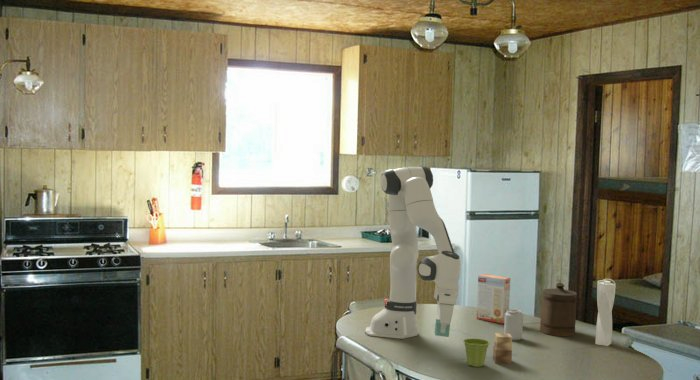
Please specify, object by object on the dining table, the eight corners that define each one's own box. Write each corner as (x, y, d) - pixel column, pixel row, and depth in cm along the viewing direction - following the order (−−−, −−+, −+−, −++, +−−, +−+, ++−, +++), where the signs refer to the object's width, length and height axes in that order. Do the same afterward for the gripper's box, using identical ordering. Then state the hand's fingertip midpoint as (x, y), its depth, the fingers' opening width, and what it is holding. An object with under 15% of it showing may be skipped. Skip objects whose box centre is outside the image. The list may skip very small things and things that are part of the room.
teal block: (435, 335, 276) (436, 322, 276) (434, 331, 281) (436, 319, 281) (448, 336, 276) (450, 324, 276) (447, 333, 281) (449, 320, 281)
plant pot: (459, 360, 274) (460, 337, 274) (484, 361, 275) (485, 338, 275) (465, 368, 265) (467, 344, 264) (491, 368, 266) (492, 345, 265)
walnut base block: (495, 363, 273) (495, 350, 272) (492, 358, 279) (493, 345, 278) (511, 364, 272) (512, 350, 272) (508, 359, 278) (509, 346, 278)
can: (522, 341, 306) (523, 313, 305) (503, 340, 307) (505, 311, 306) (521, 337, 313) (523, 309, 312) (503, 335, 314) (505, 308, 314)
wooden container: (580, 332, 324) (583, 283, 323) (565, 338, 313) (568, 287, 312) (549, 326, 334) (552, 278, 333) (533, 331, 323) (536, 282, 322)
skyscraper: (610, 347, 301) (613, 279, 299) (591, 344, 305) (595, 277, 303) (614, 343, 308) (618, 277, 306) (596, 340, 312) (600, 275, 310)
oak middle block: (496, 349, 273) (497, 336, 272) (494, 346, 278) (495, 333, 278) (511, 350, 272) (512, 337, 272) (509, 346, 278) (509, 333, 278)
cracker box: (509, 322, 340) (511, 277, 339) (502, 324, 335) (504, 279, 334) (482, 317, 349) (484, 273, 348) (475, 318, 344) (477, 274, 343)
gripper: (435, 288, 288) (432, 322, 289) (439, 299, 268) (435, 336, 269) (451, 289, 288) (448, 324, 289) (456, 301, 267) (452, 338, 268)
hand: (441, 330), depth 279 cm, fingers closed on teal block, 5 cm apart
